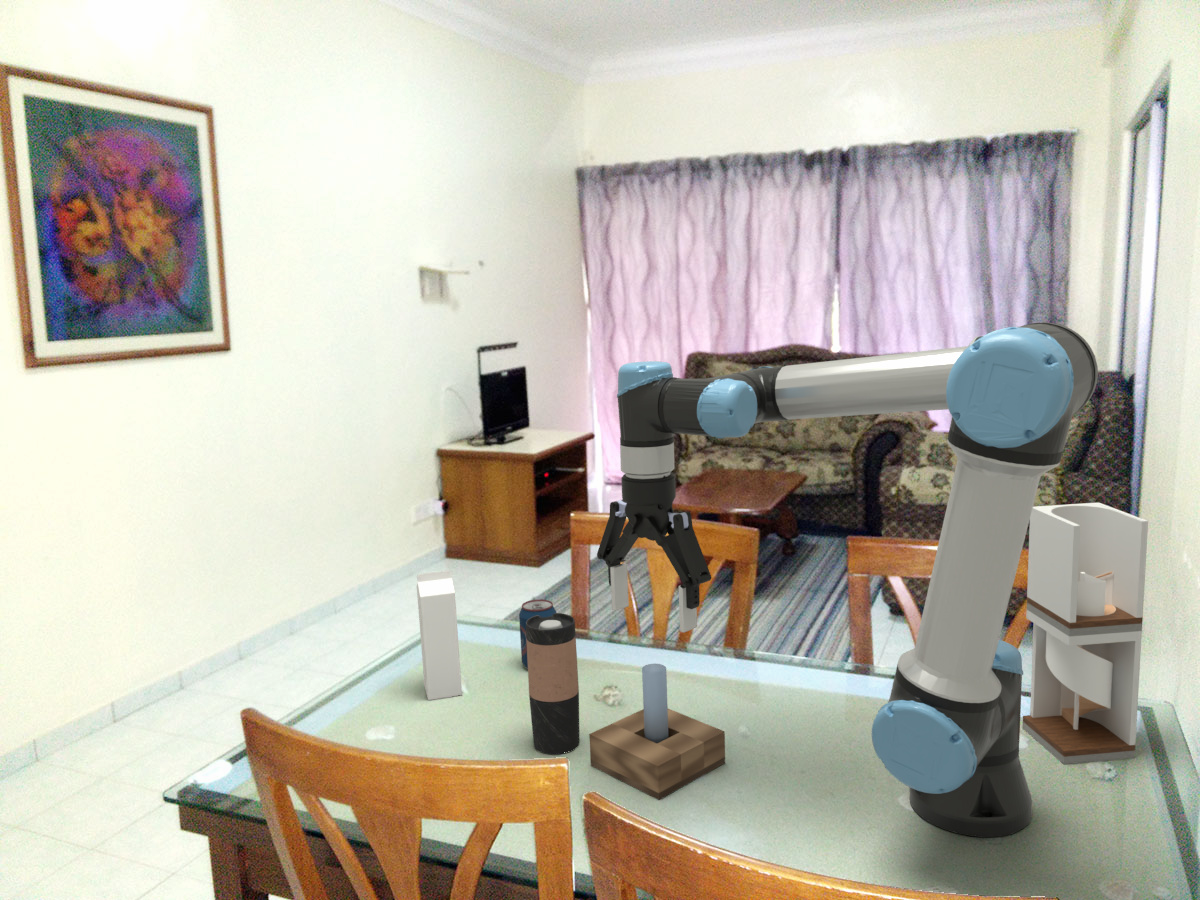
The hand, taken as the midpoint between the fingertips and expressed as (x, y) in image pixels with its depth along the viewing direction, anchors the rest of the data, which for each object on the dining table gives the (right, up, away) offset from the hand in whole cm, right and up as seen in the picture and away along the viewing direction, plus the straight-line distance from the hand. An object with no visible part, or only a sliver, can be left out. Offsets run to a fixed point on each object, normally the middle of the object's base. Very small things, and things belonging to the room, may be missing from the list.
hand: (653, 618), depth 140 cm
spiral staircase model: (+63, -20, +5) cm, 66 cm away
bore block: (+1, -22, +4) cm, 23 cm away
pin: (+1, -21, +4) cm, 22 cm away
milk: (-35, -19, +33) cm, 52 cm away
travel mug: (-14, -22, +12) cm, 28 cm away
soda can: (-19, -16, +43) cm, 49 cm away
